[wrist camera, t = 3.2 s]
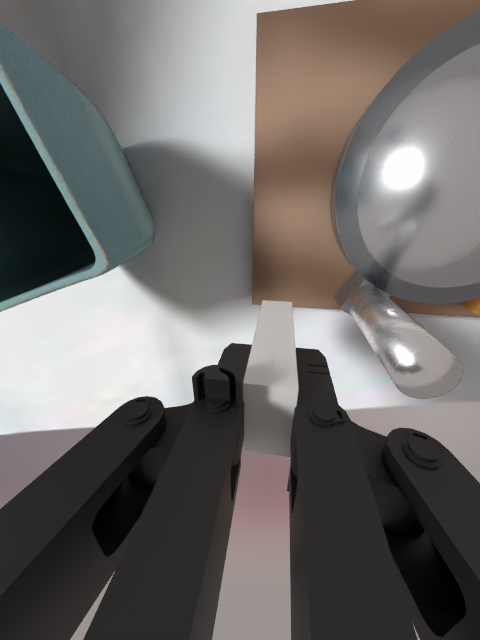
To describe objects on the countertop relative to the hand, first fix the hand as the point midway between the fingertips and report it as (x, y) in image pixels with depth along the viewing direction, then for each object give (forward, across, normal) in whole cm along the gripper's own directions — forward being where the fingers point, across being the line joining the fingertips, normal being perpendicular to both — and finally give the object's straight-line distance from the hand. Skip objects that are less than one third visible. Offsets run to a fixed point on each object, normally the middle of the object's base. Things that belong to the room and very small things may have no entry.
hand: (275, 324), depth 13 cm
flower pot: (+6, -12, +6) cm, 15 cm away
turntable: (+5, +8, +6) cm, 11 cm away
